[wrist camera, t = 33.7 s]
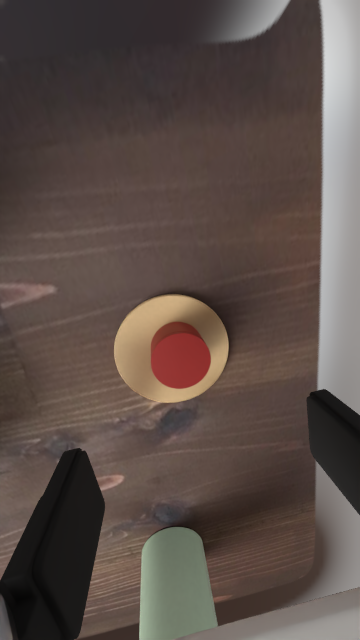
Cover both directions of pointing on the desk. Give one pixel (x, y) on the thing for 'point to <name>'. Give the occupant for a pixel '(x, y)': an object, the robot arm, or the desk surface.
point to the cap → (179, 355)
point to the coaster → (138, 335)
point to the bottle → (175, 586)
